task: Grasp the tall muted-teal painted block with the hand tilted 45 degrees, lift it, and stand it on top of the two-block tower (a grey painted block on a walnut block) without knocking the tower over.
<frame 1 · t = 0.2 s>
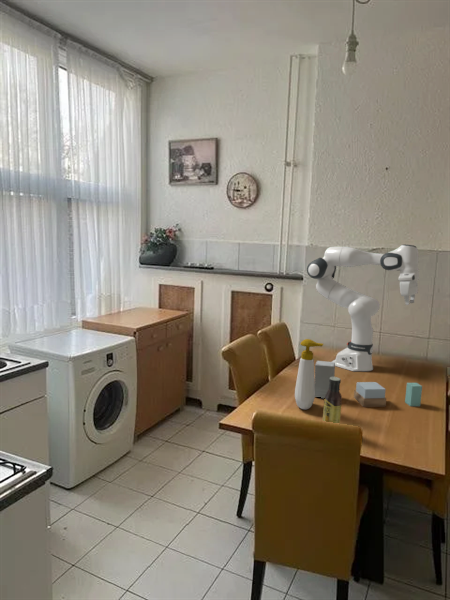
hand: (409, 303, 221), 39 cm above the table, tool pointing down, fingers open, 8 cm apart
soap bottle: (306, 407, 183), on the table
skincare box: (323, 397, 196), on the table
walnut block: (369, 403, 191), on the table, touching grey block
sauce bottle: (330, 429, 163), on the table
teal block: (412, 404, 190), on the table
grey block: (370, 394, 190), point 4 cm above the table, touching walnut block
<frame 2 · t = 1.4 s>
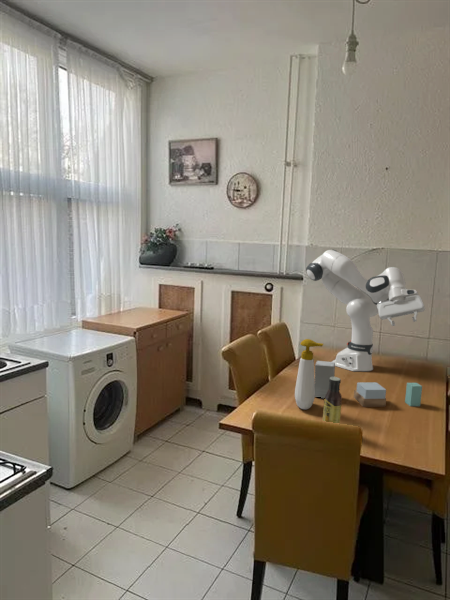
hand: (403, 323, 200), 33 cm above the table, tool tilted 40°, fingers open, 8 cm apart
nothing on the table moved.
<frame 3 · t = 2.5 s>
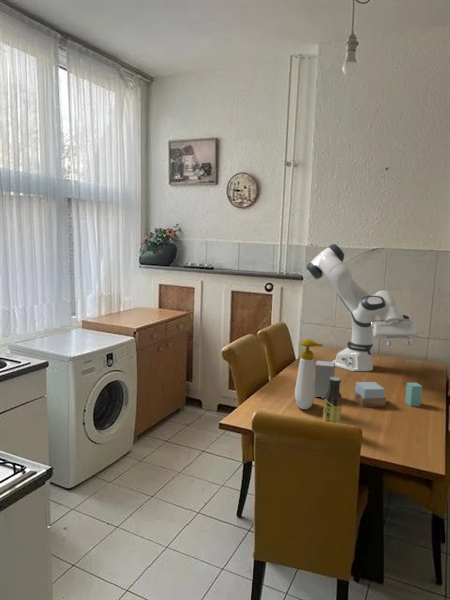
hand: (399, 345, 200), 23 cm above the table, tool tilted 45°, fingers open, 8 cm apart
walnut block: (368, 402, 191), on the table
grey block: (369, 394, 190), point 4 cm above the table
everything else where it was.
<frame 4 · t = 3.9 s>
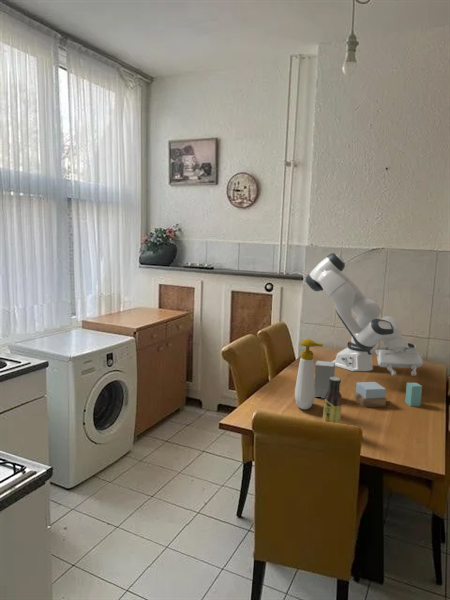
hand: (404, 375, 196), 11 cm above the table, tool tilted 45°, fingers open, 8 cm apart
walnut block: (369, 402, 191), on the table, touching grey block
grey block: (370, 394, 191), point 4 cm above the table, touching walnut block
everything else where it was.
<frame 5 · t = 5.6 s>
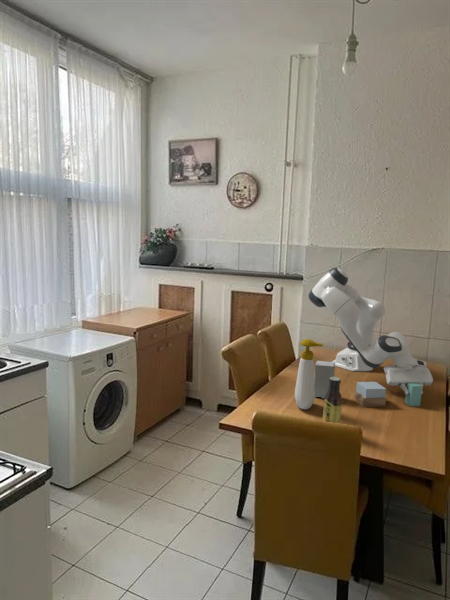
hand: (414, 393, 189), 5 cm above the table, tool tilted 45°, fingers closed on teal block, 4 cm apart
teal block: (412, 404, 190), on the table, touching gripper
everything else where it was.
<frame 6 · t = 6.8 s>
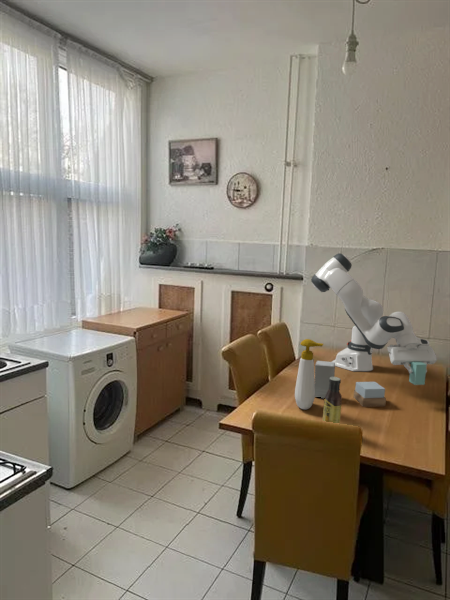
hand: (418, 372, 188), 14 cm above the table, tool tilted 45°, fingers closed on teal block, 4 cm apart
teal block: (416, 383, 189), point 10 cm above the table, touching gripper
everything else where it was.
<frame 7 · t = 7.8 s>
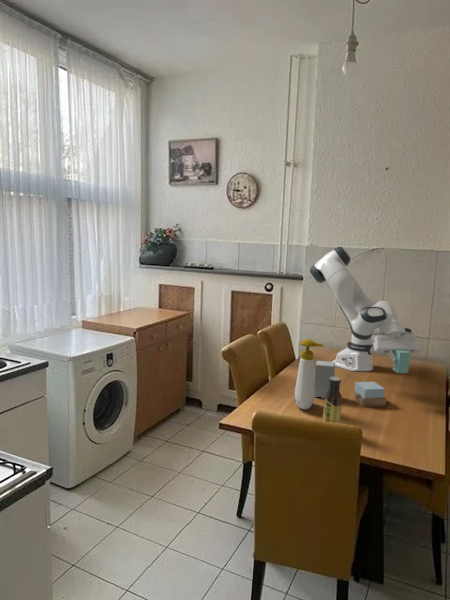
hand: (401, 360, 187), 19 cm above the table, tool tilted 45°, fingers closed on teal block, 4 cm apart
teal block: (400, 371, 188), point 15 cm above the table, touching gripper
everything else where it was.
when the fingers open (14 cm above the table, at t = 10.2 s): teal block drops 1 cm, point 8 cm above the table.
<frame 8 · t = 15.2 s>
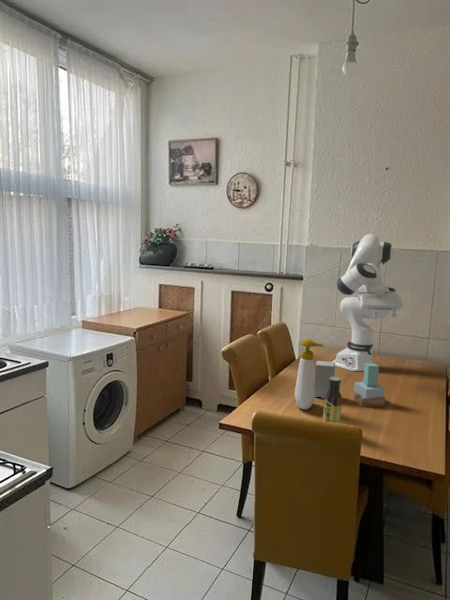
hand: (384, 316, 202), 35 cm above the table, tool tilted 45°, fingers open, 8 cm apart
teal block: (370, 384, 191), point 8 cm above the table
at the end: teal block inside the target area on the grey block (0.3 cm from its centre), point 4.0 cm above the grey block's base; teal block tilted 1°; grey block 0.0 cm off-centre on the walnut block, point 4.0 cm above the walnut block's base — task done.
